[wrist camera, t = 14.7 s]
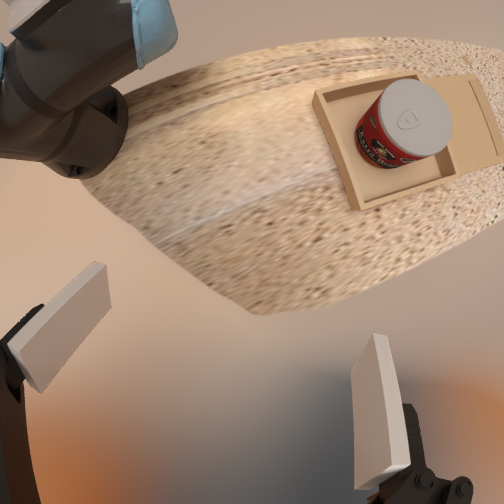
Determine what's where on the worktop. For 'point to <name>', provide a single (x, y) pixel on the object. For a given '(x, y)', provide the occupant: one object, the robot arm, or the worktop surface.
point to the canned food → (404, 125)
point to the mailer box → (419, 172)
